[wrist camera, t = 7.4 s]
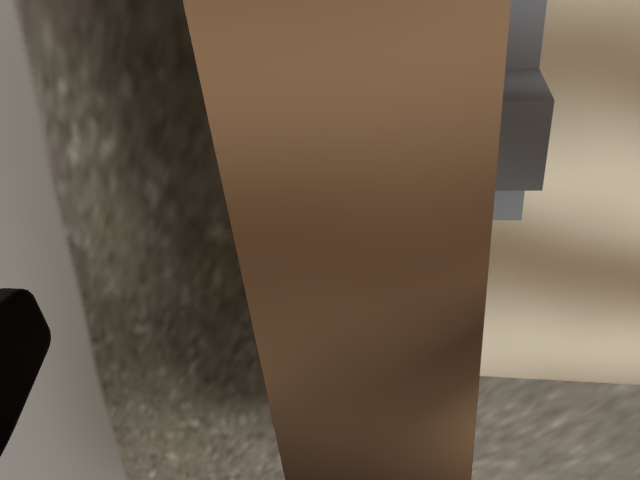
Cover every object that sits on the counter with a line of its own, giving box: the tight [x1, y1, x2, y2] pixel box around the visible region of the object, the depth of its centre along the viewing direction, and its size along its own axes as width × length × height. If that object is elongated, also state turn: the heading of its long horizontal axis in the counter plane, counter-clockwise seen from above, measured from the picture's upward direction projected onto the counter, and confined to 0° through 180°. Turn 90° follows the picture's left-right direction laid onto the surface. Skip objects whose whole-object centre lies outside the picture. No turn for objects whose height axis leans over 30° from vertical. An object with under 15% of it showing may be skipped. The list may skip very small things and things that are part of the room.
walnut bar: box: [183, 0, 511, 480], centre depth 11 cm, size 20×4×4 cm, turn 6°
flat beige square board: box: [480, 0, 640, 385], centre depth 14 cm, size 22×18×5 cm
